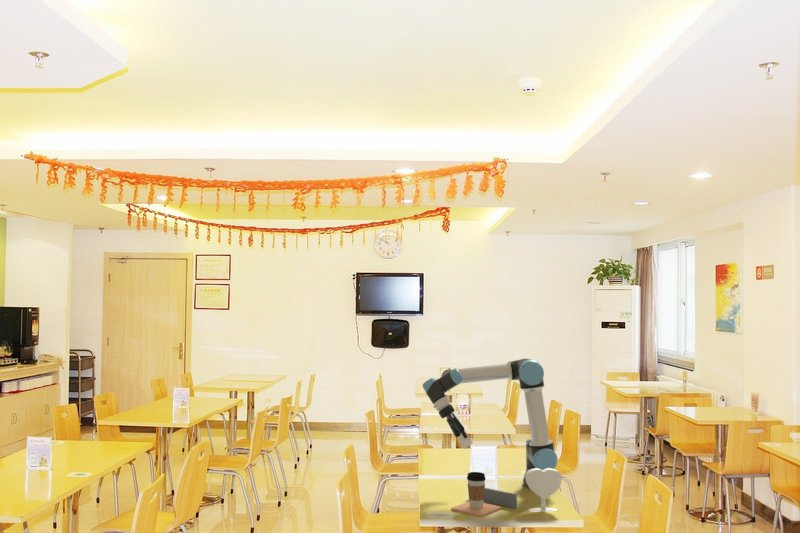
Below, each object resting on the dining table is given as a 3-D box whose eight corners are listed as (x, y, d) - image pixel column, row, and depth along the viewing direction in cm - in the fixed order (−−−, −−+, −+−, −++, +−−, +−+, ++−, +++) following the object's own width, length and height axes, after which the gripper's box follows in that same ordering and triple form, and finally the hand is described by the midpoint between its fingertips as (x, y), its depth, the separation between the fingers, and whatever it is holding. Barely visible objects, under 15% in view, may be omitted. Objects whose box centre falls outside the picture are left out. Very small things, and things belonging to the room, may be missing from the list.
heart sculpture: (559, 508, 305) (558, 467, 306) (562, 511, 300) (562, 470, 301) (525, 508, 304) (524, 467, 305) (527, 511, 299) (527, 470, 300)
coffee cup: (470, 510, 298) (470, 475, 298) (464, 505, 306) (464, 471, 307) (488, 509, 300) (488, 474, 301) (481, 503, 308) (481, 470, 309)
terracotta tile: (471, 502, 314) (471, 500, 314) (501, 509, 303) (501, 506, 303) (451, 510, 301) (451, 507, 302) (481, 517, 291) (481, 515, 291)
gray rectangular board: (472, 497, 321) (472, 485, 322) (516, 507, 306) (516, 493, 306) (470, 498, 320) (470, 485, 321) (515, 508, 305) (515, 494, 305)
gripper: (435, 415, 343) (458, 453, 337) (440, 407, 320) (464, 447, 313) (448, 408, 344) (471, 445, 338) (453, 399, 321) (478, 438, 315)
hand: (468, 446), depth 326 cm, fingers open, 13 cm apart
